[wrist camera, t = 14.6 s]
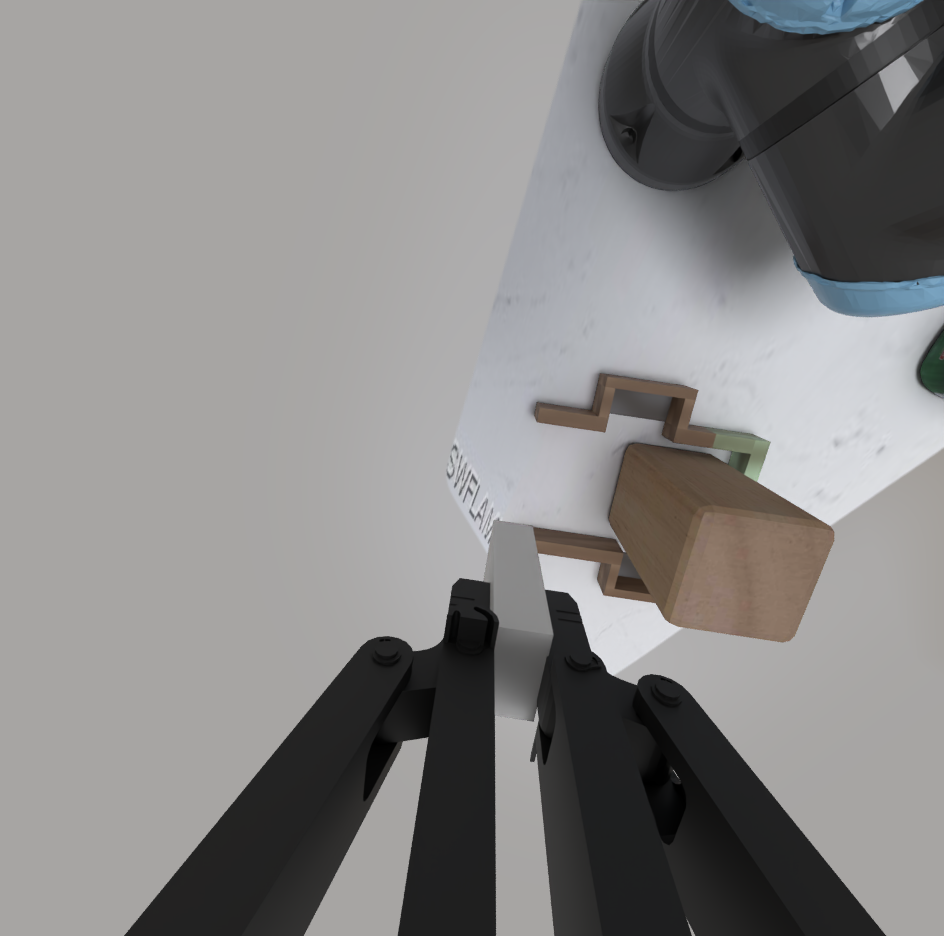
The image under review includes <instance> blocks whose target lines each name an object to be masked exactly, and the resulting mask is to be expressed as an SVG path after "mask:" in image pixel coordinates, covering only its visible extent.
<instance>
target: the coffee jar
mask: <svg viewBox="0 0 944 936" xmlns="http://www.w3.org/2000/svg"><path fill="white" fill-rule="evenodd" d="M920 374H921V379H922V382H923V384H924V385H925V387H926V388H928V389H929V390H930V391H931V392H933V393H934V394H936V395H938V396H940V397H942V398H944V331H943V332H942V333H941V335H940V336H939V338H938V339H937V340H936V342H935V343H934V345H933V346H932V348H931V350H930V351H929V353H928V355H927V356H926V358H925V360H924V362H923V364H922V367H921V371H920Z"/></svg>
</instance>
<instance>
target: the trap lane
mask: <svg viewBox="0 0 944 936" xmlns="http://www.w3.org/2000/svg"><path fill="white" fill-rule="evenodd" d="M697 393H698V390H696V389H693V388H690V387H687V386H683V385H677V384H670V383H663V382H656V381H650V380H643V379H636V378H629V377H623V376H616V375H609V374H602V373H600V375H599V380H598V385H597V389H596V394H595V398H594V403H593V407H592V410H586V409H579V408H572V407H566V406H559V405H552V404H545V403H539V402H537V404H536V409H535V415H534V416H535V419H536V421H537V422H539V423H545V424H552V425H559V426H566V427H572V428H579V429H586V430H593V431H599V432H605V431H606V427H607V422H608V418H609V414H610V413H611V414H618V415H624V416H631V417H638V418H645V419H651V420H658V421H665V424H664V428H663V431H662V435H663V436H664V437H666V438H667V439H669V440H670V441H672V442H673V443H680V444H687V445H694V446H700V447H707V448H714V449H721V450H727V451H732V454H731V457H730V461H729V464H728V465H729V466H731V467H733V468H734V469H736V470H738V471H739V472H741V473H742V474H744V475H746V476H747V477H749V478H751V479H752V480H754V481H756V482H757V480H758V477H759V474H760V472H761V469H762V466H763V463H764V460H765V457H766V454H767V451H768V448H769V445H770V442H769V441H767V440H765V439H762V438H760V437H758V436H755V435H753V434H748V433H741V432H734V431H727V430H721V429H714V428H707V427H700V426H694V425H689V421H690V418H691V414H692V411H693V407H694V404H695V400H696V397H697ZM533 531H534V536H535V541H536V546H537V552H538V553H540V554H547V555H554V556H560V557H567V558H574V559H580V560H587V561H594V562H601V565H600V569H599V573H598V577H597V580H598V583H599V585H600V588H601V590H602V593H603V595H605V596H612V597H618V598H625V599H632V600H638V601H645V602H652V603H655V601H654V599H653V598H652V596H651V594H650V593H649V591H648V589H647V587H646V586H645V584H644V582H643V580H642V579H641V577H640V575H639V574H638V572H637V570H636V568H635V567H634V565H633V563H632V561H631V560H630V558H629V556H628V555H627V553H624V552H623V551H622V550H621V548H620V546H619V544H618V542H617V541H616V539H609V538H603V537H596V536H589V535H583V534H576V533H569V532H562V531H556V530H549V529H542V528H535V527H533Z"/></svg>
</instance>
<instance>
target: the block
mask: <svg viewBox="0 0 944 936" xmlns="http://www.w3.org/2000/svg"><path fill="white" fill-rule="evenodd" d="M609 522H610V525H611V527H612V529H613V530H614V532H615V534H616V536H617V537H618V539H619V541H620V542H621V544H622V546H623V548H624V549H625V551H626V553H627V555H628V556H629V558H630V560H631V561H632V563H633V565H634V567H635V568H636V570H637V572H638V574H639V575H640V577H641V579H642V580H643V582H644V584H645V586H646V587H647V589H648V591H649V593H650V594H651V596H652V598H653V599H654V601H655V603H656V605H657V606H658V608H659V610H660V611H661V613H662V615H663V617H664V618H665V620H667V621H668V622H669V623H671V624H673V625H676V626H678V627H684V628H691V629H697V630H704V631H711V632H717V633H724V634H730V635H737V636H744V637H751V638H757V639H764V640H770V641H777V642H786V641H790V640H791V639H792V638H793V637H794V636H795V634H796V631H797V629H798V626H799V624H800V622H801V619H802V616H803V615H804V612H805V610H806V607H807V605H808V602H809V600H810V597H811V595H812V593H813V590H814V588H815V585H816V583H817V581H818V578H819V576H820V574H821V571H822V569H823V566H824V564H825V561H826V559H827V557H828V554H829V552H830V549H831V547H832V545H833V542H834V531H833V529H832V528H831V527H830V526H829V525H827V524H825V523H824V522H822V521H821V520H819V519H817V518H816V517H814V516H812V515H811V514H809V513H807V512H806V511H804V510H802V509H801V508H799V507H797V506H796V505H794V504H792V503H791V502H789V501H787V500H786V499H784V498H782V497H781V496H779V495H777V494H776V493H774V492H772V491H771V490H769V489H767V488H766V487H764V486H762V485H761V484H759V483H757V482H756V481H754V480H752V479H751V478H749V477H747V476H746V475H744V474H742V473H741V472H739V471H738V470H736V469H734V468H733V467H731V466H729V465H728V464H726V463H724V462H723V461H721V460H719V459H718V458H716V457H714V456H713V455H711V454H705V453H698V452H692V451H685V450H679V449H672V448H665V447H659V446H652V445H646V444H639V443H636V444H632V445H629V446H628V448H627V450H626V452H625V456H624V460H623V464H622V468H621V472H620V476H619V480H618V484H617V488H616V491H615V495H614V499H613V503H612V507H611V511H610V515H609Z"/></svg>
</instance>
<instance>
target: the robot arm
mask: <svg viewBox="0 0 944 936" xmlns="http://www.w3.org/2000/svg"><path fill="white" fill-rule="evenodd" d="M599 117H600V124H601V128H602V133H603V136H604V139H605V142H606V144H607V146H608V149H609V151H610V152H611V154H612V156H613V158H614V159H615V160H616V162H617V163H618V164H619V166H620V167H621V168H622V169H623V170H624V171H625V172H626V173H627V174H629V175H630V176H631V177H632V178H634V179H635V180H637V181H639V182H640V183H642V184H644V185H647V186H649V187H652V188H656V189H661V190H670V191H676V190H686V189H691V188H694V187H698V186H701V185H703V184H706V183H708V182H710V181H712V180H714V179H715V178H717V177H719V176H720V175H722V174H723V173H725V172H726V171H728V170H729V169H731V168H732V167H734V166H735V165H736V164H738V163H739V162H740V161H741V160H742V159H743V158H744V157H745V156H746V158H747V160H748V161H747V162H748V164H749V166H750V168H751V170H752V172H753V174H754V176H755V178H756V180H757V182H758V184H759V186H760V188H761V190H762V192H763V194H764V196H765V198H766V200H767V202H768V204H769V206H770V208H771V210H772V212H773V214H774V216H775V218H776V220H777V222H778V224H779V226H780V228H781V230H782V232H783V234H784V236H785V238H786V240H787V242H788V244H789V246H790V248H791V250H792V252H793V254H794V255H793V260H794V264H795V267H796V269H797V270H798V271H800V273H801V275H802V276H804V277H805V278H806V279H807V280H808V282H809V284H810V286H811V287H812V289H813V291H814V293H815V294H816V296H817V298H818V299H819V301H820V302H821V303H823V304H824V305H825V306H826V307H827V308H829V309H831V310H833V311H834V312H837V313H840V314H844V315H848V316H856V317H882V316H892V315H900V314H906V313H912V312H917V311H922V310H927V309H931V308H935V307H939V306H943V305H944V0H644V1H643V2H642V3H641V4H640V5H639V6H638V7H637V9H636V10H635V11H634V12H633V13H632V15H631V16H630V17H629V19H628V20H627V22H626V23H625V25H624V26H623V28H622V30H621V31H620V33H619V35H618V37H617V39H616V41H615V43H614V46H613V48H612V50H611V52H610V55H609V57H608V59H607V62H606V65H605V68H604V71H603V75H602V79H601V85H600V92H599ZM537 708H538V716H539V722H538V726H537V731H536V735H535V739H534V743H533V748H532V752H531V758H530V761H531V762H534V761H535V757H536V754H537V760H538V771H539V781H540V792H541V802H542V812H543V823H544V833H545V844H546V854H547V863H548V874H549V884H550V895H551V906H552V916H553V926H554V936H692V935H691V932H690V928H689V925H688V922H689V924H690V926H691V928H692V930H693V932H694V934H695V936H886V935H885V934H884V933H883V931H882V930H881V929H880V928H879V926H878V925H877V924H876V923H875V922H874V920H873V919H872V918H871V916H870V915H869V914H868V913H867V912H866V910H865V909H864V908H863V907H862V906H861V904H860V903H859V902H858V900H857V899H856V898H855V897H854V895H853V894H852V893H851V892H850V891H849V889H848V888H847V887H846V886H845V884H844V883H843V882H842V881H841V879H840V878H839V877H838V876H837V875H836V873H835V872H834V871H833V870H832V868H831V867H830V866H829V865H828V863H827V862H826V861H825V860H824V858H823V857H822V856H821V855H820V854H819V852H818V851H817V850H816V849H815V847H814V846H813V845H812V844H811V842H810V841H809V840H808V839H807V838H806V837H805V835H804V834H803V833H802V831H801V830H800V829H799V828H798V827H797V825H796V824H795V823H794V821H793V820H792V819H791V818H790V817H789V815H788V814H787V813H786V812H785V810H784V809H783V808H782V807H781V805H780V804H779V803H778V802H777V801H776V799H775V798H774V797H773V795H772V794H771V793H770V792H769V791H768V789H767V788H766V787H765V786H764V784H763V783H762V782H761V781H760V780H759V778H758V777H757V776H756V775H755V773H754V772H753V771H752V770H751V768H750V767H749V766H748V765H747V763H746V762H745V761H744V760H743V758H742V757H741V756H740V755H739V753H738V752H737V751H736V750H735V749H734V748H733V746H732V745H731V744H730V742H729V741H728V740H727V739H726V737H725V736H724V735H723V734H722V732H721V731H720V730H719V729H718V728H717V726H716V725H715V724H714V723H713V721H712V720H711V719H710V718H709V717H708V715H707V714H706V713H705V712H704V710H703V709H702V708H701V707H700V705H699V704H698V703H697V702H696V700H695V699H694V698H693V697H692V695H691V694H690V693H689V692H688V691H687V690H686V689H685V688H684V687H683V686H682V685H680V684H678V683H677V682H675V681H673V680H672V679H669V678H666V677H664V676H661V675H653V674H650V675H645V676H643V677H642V678H641V679H639V681H638V684H637V685H634V684H631V683H629V682H626V681H624V680H621V679H619V678H616V677H614V676H612V675H611V674H609V673H608V672H607V670H606V667H605V665H604V663H603V661H602V660H601V658H599V657H598V656H597V655H596V654H595V653H594V652H592V651H591V649H590V646H589V642H588V639H587V636H586V632H585V629H584V626H583V624H582V619H581V616H580V612H579V609H578V605H577V603H576V602H575V601H574V599H573V598H572V597H571V596H570V595H569V594H568V593H564V592H557V591H551V590H545V588H544V583H543V578H542V572H541V567H540V562H539V557H538V552H537V546H536V541H535V536H534V531H533V526H530V525H524V524H517V523H510V522H503V521H497V520H494V521H493V527H492V533H491V539H490V545H489V551H488V557H487V563H486V569H485V575H484V581H483V582H482V581H476V580H469V579H462V578H460V579H459V580H458V581H457V582H456V583H455V584H454V585H453V586H452V591H451V599H450V604H449V611H448V615H447V620H446V627H445V633H444V638H443V640H442V641H441V642H440V643H439V644H438V645H436V646H435V647H432V648H430V649H427V650H422V651H412V648H411V647H410V646H409V645H408V644H407V642H405V641H402V640H401V639H399V638H395V637H389V636H385V637H377V638H374V639H371V640H368V641H367V642H366V643H365V644H364V645H362V646H361V647H360V649H359V650H358V651H357V653H356V654H355V655H354V656H353V657H352V658H351V660H350V661H349V662H348V663H347V664H346V666H345V667H344V668H343V669H342V671H341V672H340V673H339V674H338V676H337V677H336V678H335V679H334V680H333V682H332V683H331V684H330V685H329V686H328V688H327V689H326V690H325V691H324V693H323V694H322V695H321V696H320V697H319V699H318V700H317V701H316V702H315V704H314V705H313V706H312V708H311V709H310V710H309V711H308V712H307V713H306V715H305V716H304V717H303V718H302V720H301V721H300V722H299V723H298V724H297V726H296V727H295V728H294V729H293V731H292V732H291V733H290V734H289V735H288V736H287V738H286V739H285V740H284V741H283V743H282V744H281V745H280V746H279V748H278V749H277V750H276V751H275V752H274V754H273V755H272V756H271V757H270V759H269V760H268V761H267V762H266V763H265V765H264V766H263V767H262V768H261V769H260V771H259V772H258V773H257V774H256V776H255V777H254V778H253V779H252V780H251V782H250V783H249V784H248V785H247V787H246V788H245V789H244V790H243V791H242V793H241V794H240V795H239V796H238V798H237V799H236V800H235V801H234V802H233V804H232V805H231V806H230V807H229V808H228V810H227V811H226V812H225V813H224V815H223V816H222V817H221V818H220V819H219V821H218V822H217V823H216V825H215V826H214V827H213V828H212V829H211V830H210V832H209V833H208V834H207V835H206V837H205V838H204V839H203V840H202V841H201V843H200V844H199V845H198V846H197V848H196V849H195V850H194V851H193V852H192V854H191V855H190V856H189V857H188V859H187V860H186V861H185V862H184V863H183V865H182V866H181V867H180V868H179V870H178V871H177V872H176V873H175V874H174V876H173V877H172V878H171V879H170V881H169V882H168V883H167V884H166V885H165V887H164V888H163V889H162V890H161V891H160V893H159V894H158V895H157V896H156V898H155V899H154V900H153V901H152V902H151V904H150V905H149V906H148V907H147V909H146V910H145V911H144V912H143V913H142V915H141V916H140V917H139V918H138V920H137V921H136V922H135V923H134V924H133V926H132V927H131V928H130V930H128V932H127V933H126V934H125V935H124V936H304V934H305V932H306V930H307V928H308V926H309V925H310V922H311V920H312V919H313V917H314V915H315V913H316V911H317V909H318V907H319V905H320V903H321V901H322V899H323V897H324V895H325V894H326V892H327V889H328V888H329V886H330V884H331V882H332V880H333V878H334V876H335V874H336V872H337V870H338V868H339V866H340V865H341V863H342V861H343V859H344V857H345V855H346V853H347V851H348V849H349V847H350V845H351V843H352V841H353V839H354V838H355V836H356V834H357V832H358V830H359V828H360V826H361V824H362V822H363V820H364V818H365V816H366V814H367V812H368V811H369V809H370V807H371V805H372V803H373V801H374V799H375V797H376V795H377V793H378V791H379V789H380V787H381V785H382V783H383V781H384V780H385V777H386V776H387V773H388V772H389V770H390V767H391V766H392V764H393V762H394V760H395V758H396V756H397V754H398V753H399V751H400V749H401V746H402V742H403V741H407V740H414V739H420V738H427V737H428V744H427V751H426V757H425V763H424V770H423V776H422V783H421V789H420V796H419V802H418V808H417V815H416V821H415V828H414V834H413V841H412V847H411V854H410V860H409V867H408V873H407V879H406V886H405V892H404V899H403V906H402V912H401V918H400V925H399V931H398V936H496V874H495V873H496V869H495V868H496V867H495V866H496V865H495V864H496V861H495V857H496V854H495V716H500V717H507V718H514V719H521V720H527V721H534V718H535V714H536V709H537ZM673 770H674V771H675V772H676V774H677V776H678V777H679V778H678V777H677V776H676V774H675V773H674V771H673ZM679 779H680V780H679ZM686 918H687V919H686ZM687 920H688V922H687Z"/></svg>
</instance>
